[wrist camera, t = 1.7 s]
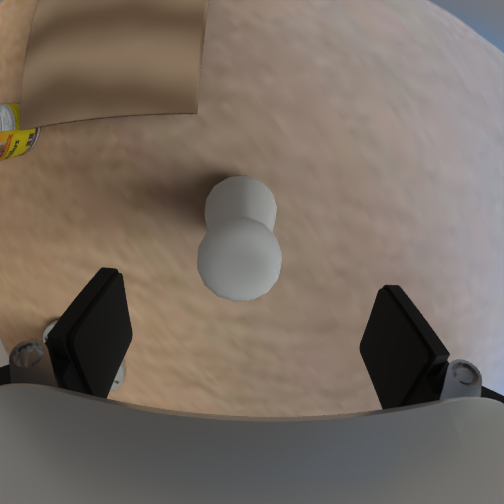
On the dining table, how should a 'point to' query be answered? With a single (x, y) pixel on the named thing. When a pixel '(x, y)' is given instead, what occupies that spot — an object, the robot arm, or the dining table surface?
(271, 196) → the salt shaker
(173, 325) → the dining table surface
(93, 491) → the robot arm
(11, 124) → the supplement bottle
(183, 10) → the small wooden table
